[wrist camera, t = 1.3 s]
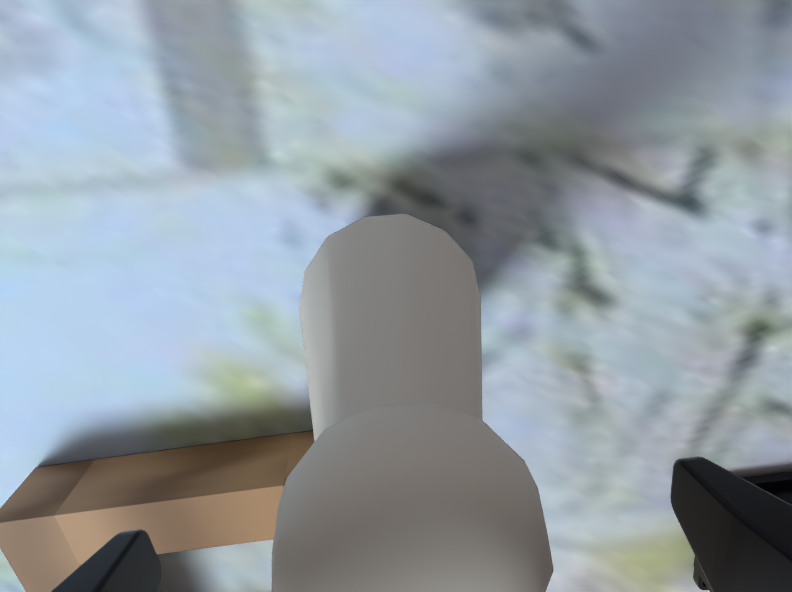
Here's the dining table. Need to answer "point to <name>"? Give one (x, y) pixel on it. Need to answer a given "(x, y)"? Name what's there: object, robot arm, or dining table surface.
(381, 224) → the salt shaker
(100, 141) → the dining table surface
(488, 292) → the dining table surface
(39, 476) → the frame
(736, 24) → the dining table surface
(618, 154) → the dining table surface
